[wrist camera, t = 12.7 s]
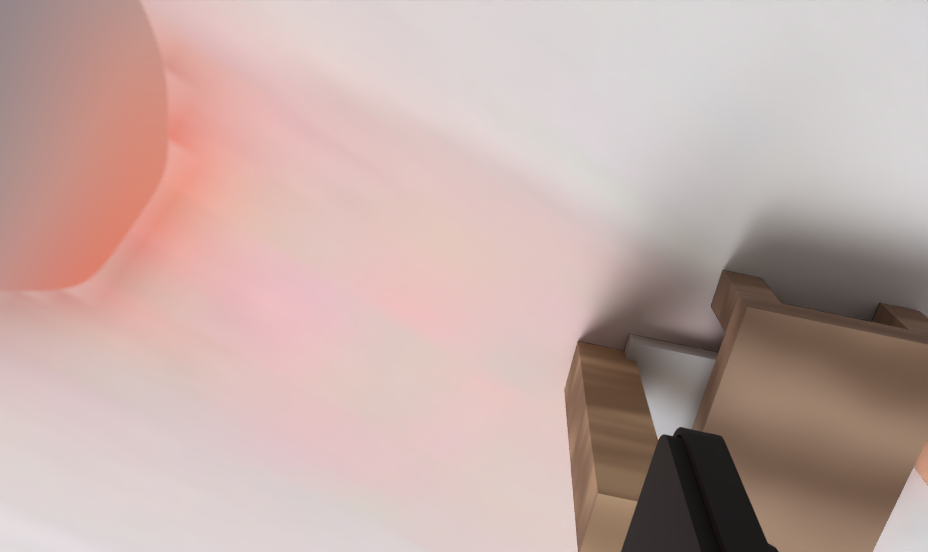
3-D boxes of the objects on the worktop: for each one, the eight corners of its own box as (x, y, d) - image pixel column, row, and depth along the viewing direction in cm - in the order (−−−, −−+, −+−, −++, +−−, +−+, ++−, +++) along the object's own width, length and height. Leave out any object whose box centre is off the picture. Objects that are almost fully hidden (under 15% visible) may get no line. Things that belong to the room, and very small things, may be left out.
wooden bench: (722, 270, 39) (747, 307, 34) (919, 311, 39) (968, 353, 34) (646, 496, 44) (659, 553, 39) (819, 533, 44) (851, 594, 39)
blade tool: (582, 324, 40) (604, 471, 28) (930, 396, 40) (1102, 575, 28) (560, 406, 42) (572, 576, 30) (893, 475, 42) (1039, 674, 30)
